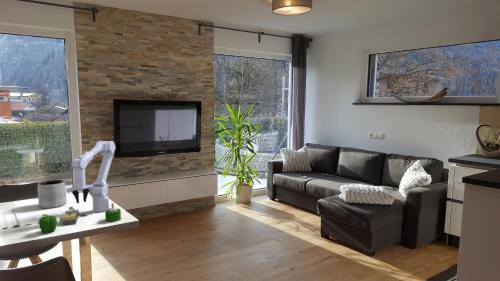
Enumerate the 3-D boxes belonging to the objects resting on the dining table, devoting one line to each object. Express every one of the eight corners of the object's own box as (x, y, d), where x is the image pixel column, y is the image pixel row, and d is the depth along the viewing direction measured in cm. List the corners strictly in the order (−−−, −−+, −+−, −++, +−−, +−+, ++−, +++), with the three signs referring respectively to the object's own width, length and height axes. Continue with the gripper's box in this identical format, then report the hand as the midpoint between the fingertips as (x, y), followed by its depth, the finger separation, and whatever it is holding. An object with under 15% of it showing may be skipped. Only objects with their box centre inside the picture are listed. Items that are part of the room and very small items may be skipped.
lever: (74, 210, 219) (74, 206, 219) (73, 214, 210) (72, 210, 210) (69, 210, 218) (69, 206, 218) (67, 215, 209) (67, 211, 209)
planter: (35, 209, 230) (33, 185, 228) (43, 202, 246) (41, 180, 244) (63, 207, 234) (61, 184, 232) (69, 201, 249) (67, 178, 248)
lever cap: (75, 215, 210) (75, 212, 209) (74, 219, 203) (74, 215, 203) (64, 216, 207) (64, 213, 207) (62, 220, 201) (62, 217, 201)
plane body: (66, 214, 219) (65, 210, 219) (78, 213, 222) (78, 209, 221) (61, 225, 201) (61, 221, 200) (76, 223, 203) (75, 219, 203)
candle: (123, 218, 213) (123, 201, 212) (115, 222, 205) (114, 205, 204) (111, 217, 215) (110, 200, 214) (102, 221, 207) (101, 204, 206)
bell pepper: (54, 227, 197) (52, 209, 196) (59, 231, 191) (58, 213, 190) (36, 232, 191) (35, 213, 190) (42, 235, 185) (40, 216, 184)
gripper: (90, 176, 219) (91, 198, 220) (64, 180, 209) (65, 203, 210) (94, 178, 213) (95, 200, 215) (68, 182, 204) (69, 205, 205)
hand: (81, 202), depth 212 cm, fingers open, 3 cm apart
